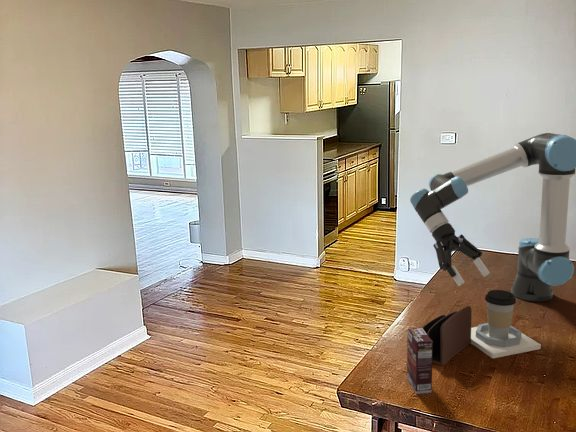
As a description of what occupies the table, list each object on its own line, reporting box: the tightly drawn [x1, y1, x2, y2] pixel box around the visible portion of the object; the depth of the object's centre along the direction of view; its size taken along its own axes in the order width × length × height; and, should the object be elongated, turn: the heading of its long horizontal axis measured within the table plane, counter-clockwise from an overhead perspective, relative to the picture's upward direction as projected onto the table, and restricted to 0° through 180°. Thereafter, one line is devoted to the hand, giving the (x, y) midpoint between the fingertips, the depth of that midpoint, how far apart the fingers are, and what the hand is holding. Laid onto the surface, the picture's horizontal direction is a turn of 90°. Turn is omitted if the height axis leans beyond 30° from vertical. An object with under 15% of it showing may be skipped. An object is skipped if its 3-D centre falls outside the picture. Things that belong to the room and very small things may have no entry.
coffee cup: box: [484, 289, 517, 340], centre depth 173 cm, size 9×9×15 cm
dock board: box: [470, 322, 542, 359], centre depth 174 cm, size 18×18×4 cm
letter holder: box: [421, 305, 473, 367], centre depth 169 cm, size 10×20×14 cm, turn 136°
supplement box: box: [406, 327, 433, 395], centre depth 149 cm, size 9×5×16 cm, turn 5°
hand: (474, 279), depth 178 cm, fingers open, 13 cm apart
